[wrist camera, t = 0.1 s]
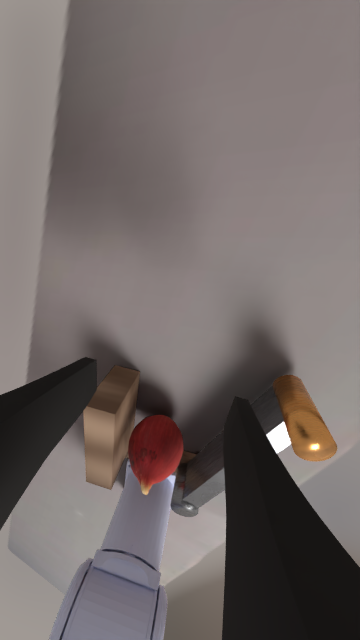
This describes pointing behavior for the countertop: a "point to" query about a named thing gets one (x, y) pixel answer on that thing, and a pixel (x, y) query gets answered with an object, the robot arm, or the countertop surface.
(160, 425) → the onion
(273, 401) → the lever
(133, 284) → the countertop surface
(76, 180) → the countertop surface
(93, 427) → the bench
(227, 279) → the countertop surface
